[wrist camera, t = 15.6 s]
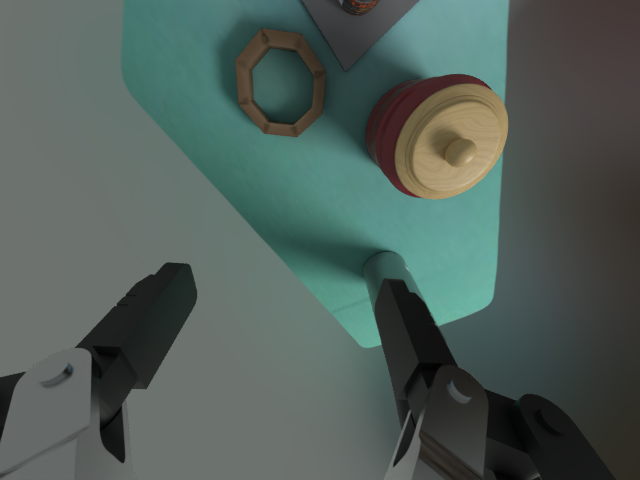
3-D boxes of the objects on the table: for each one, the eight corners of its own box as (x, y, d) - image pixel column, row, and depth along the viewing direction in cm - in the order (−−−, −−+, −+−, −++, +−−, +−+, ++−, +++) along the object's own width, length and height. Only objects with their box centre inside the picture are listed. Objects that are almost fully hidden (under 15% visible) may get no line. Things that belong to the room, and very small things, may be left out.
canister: (352, 160, 38) (374, 202, 23) (384, 66, 32) (444, 42, 17) (422, 180, 40) (483, 231, 25) (466, 96, 34) (585, 98, 19)
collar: (340, 95, 33) (341, 95, 31) (282, 149, 37) (280, 152, 35) (284, 9, 28) (281, 3, 26) (224, 81, 32) (218, 81, 30)
